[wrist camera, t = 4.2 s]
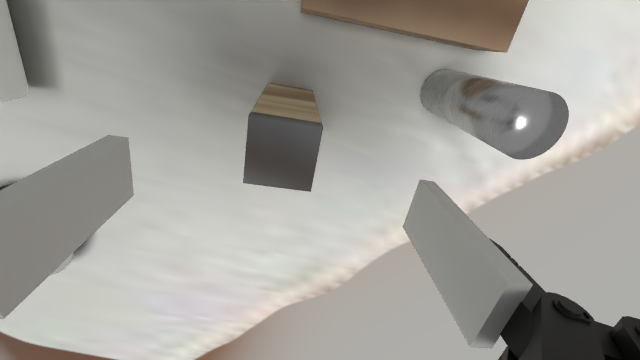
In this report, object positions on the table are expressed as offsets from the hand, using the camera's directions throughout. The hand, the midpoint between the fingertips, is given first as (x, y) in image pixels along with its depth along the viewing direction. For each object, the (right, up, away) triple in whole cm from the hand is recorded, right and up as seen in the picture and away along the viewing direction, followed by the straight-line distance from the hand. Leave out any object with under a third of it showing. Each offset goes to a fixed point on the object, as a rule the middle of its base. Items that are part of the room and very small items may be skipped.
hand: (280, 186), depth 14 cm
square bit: (-1, +7, +14) cm, 15 cm away
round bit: (+13, +9, +14) cm, 21 cm away
